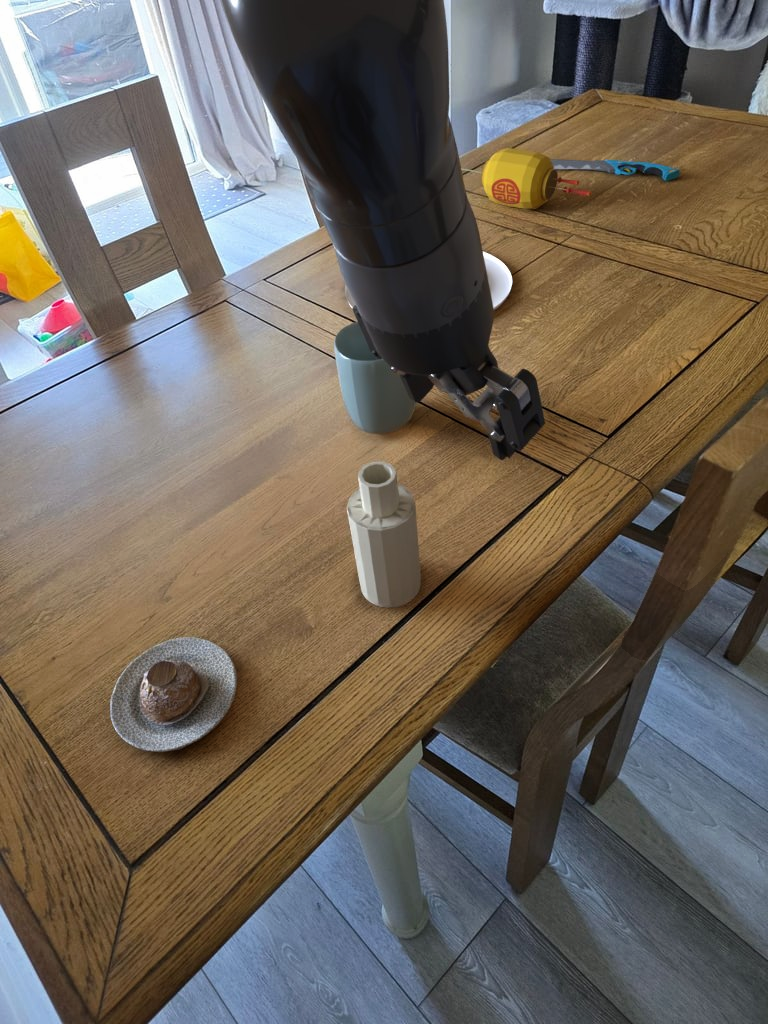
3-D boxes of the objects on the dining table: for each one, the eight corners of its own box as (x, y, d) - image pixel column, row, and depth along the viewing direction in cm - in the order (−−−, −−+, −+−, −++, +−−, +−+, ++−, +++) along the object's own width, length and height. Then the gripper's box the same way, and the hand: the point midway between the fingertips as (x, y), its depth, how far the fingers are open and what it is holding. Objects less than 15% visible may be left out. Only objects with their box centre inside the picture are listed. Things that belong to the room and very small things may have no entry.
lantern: (604, 149, 124) (460, 129, 138) (580, 182, 121) (435, 158, 134) (602, 200, 133) (466, 176, 146) (579, 231, 129) (442, 204, 143)
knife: (499, 168, 153) (499, 160, 151) (507, 158, 155) (507, 151, 154) (675, 182, 138) (677, 174, 137) (681, 171, 140) (683, 163, 139)
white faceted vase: (424, 563, 76) (417, 452, 64) (415, 610, 71) (406, 501, 60) (367, 557, 77) (350, 448, 65) (355, 604, 73) (334, 496, 61)
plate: (401, 237, 131) (400, 233, 130) (539, 265, 119) (540, 261, 118) (312, 307, 115) (311, 303, 115) (461, 348, 104) (461, 344, 103)
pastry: (91, 699, 67) (72, 674, 64) (194, 623, 73) (181, 596, 69) (156, 783, 61) (138, 760, 58) (264, 692, 66) (253, 667, 63)
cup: (353, 451, 89) (341, 369, 80) (339, 407, 96) (326, 326, 87) (427, 436, 90) (423, 352, 81) (409, 392, 97) (403, 311, 88)
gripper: (564, 279, 36) (571, 431, 50) (372, 183, 42) (427, 342, 56) (469, 384, 35) (504, 508, 49) (287, 269, 41) (366, 409, 55)
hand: (463, 419), depth 53 cm, fingers open, 8 cm apart
